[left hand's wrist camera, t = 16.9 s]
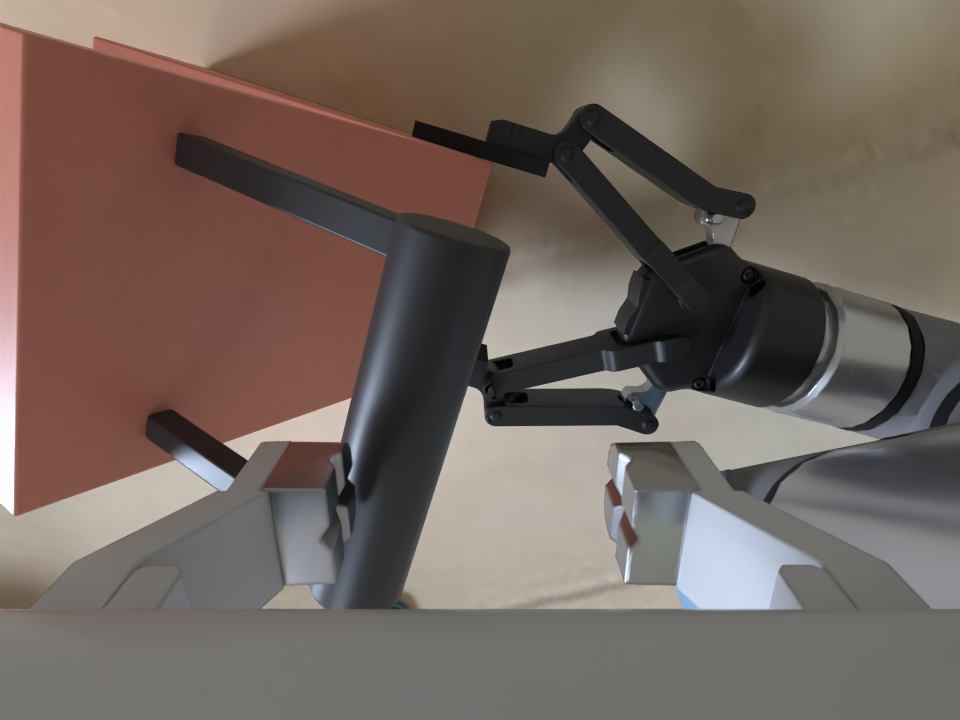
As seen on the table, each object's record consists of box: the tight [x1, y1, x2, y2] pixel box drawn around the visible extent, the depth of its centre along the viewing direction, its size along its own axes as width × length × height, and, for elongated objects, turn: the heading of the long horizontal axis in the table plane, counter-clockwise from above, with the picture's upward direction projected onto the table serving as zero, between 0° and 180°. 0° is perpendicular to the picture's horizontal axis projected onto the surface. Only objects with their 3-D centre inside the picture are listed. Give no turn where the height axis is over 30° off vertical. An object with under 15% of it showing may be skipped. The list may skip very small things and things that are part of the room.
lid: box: [0, 23, 510, 609], centre depth 17 cm, size 17×10×9 cm
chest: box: [93, 37, 480, 159], centre depth 30 cm, size 16×10×10 cm, turn 73°
